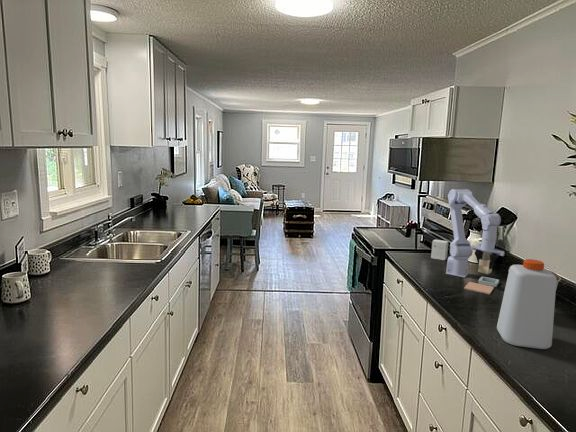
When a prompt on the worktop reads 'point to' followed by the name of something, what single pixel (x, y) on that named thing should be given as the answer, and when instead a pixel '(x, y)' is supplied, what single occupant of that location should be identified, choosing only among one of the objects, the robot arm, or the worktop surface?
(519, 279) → the plastic bottle
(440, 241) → the small box
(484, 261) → the birch block
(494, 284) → the holder
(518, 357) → the worktop surface
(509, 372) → the worktop surface
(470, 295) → the worktop surface
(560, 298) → the worktop surface
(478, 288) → the mat
